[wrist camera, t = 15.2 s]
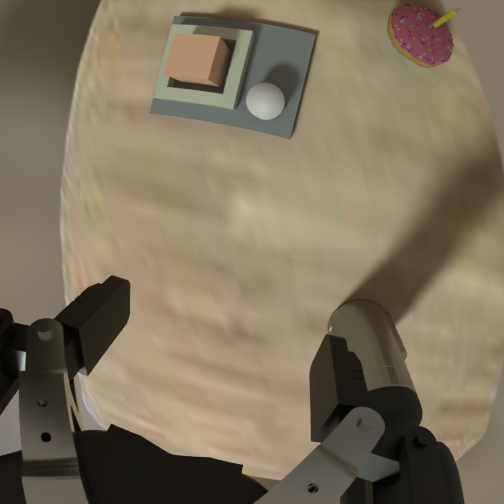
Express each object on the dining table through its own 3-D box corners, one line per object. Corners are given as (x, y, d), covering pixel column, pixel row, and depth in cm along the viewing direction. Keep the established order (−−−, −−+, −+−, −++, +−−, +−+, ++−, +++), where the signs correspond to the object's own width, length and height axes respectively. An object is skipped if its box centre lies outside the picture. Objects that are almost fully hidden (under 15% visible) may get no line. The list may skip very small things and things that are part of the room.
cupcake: (402, 6, 25) (437, -29, 14) (446, 51, 26) (494, 32, 15) (366, 38, 28) (395, 4, 17) (414, 85, 29) (460, 70, 18)
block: (230, 51, 30) (220, 36, 24) (220, 87, 32) (208, 79, 26) (192, 46, 30) (175, 32, 24) (182, 82, 32) (163, 74, 26)
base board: (314, 37, 29) (318, 23, 24) (289, 138, 34) (290, 139, 30) (177, 18, 29) (163, 5, 25) (153, 113, 35) (135, 111, 30)
